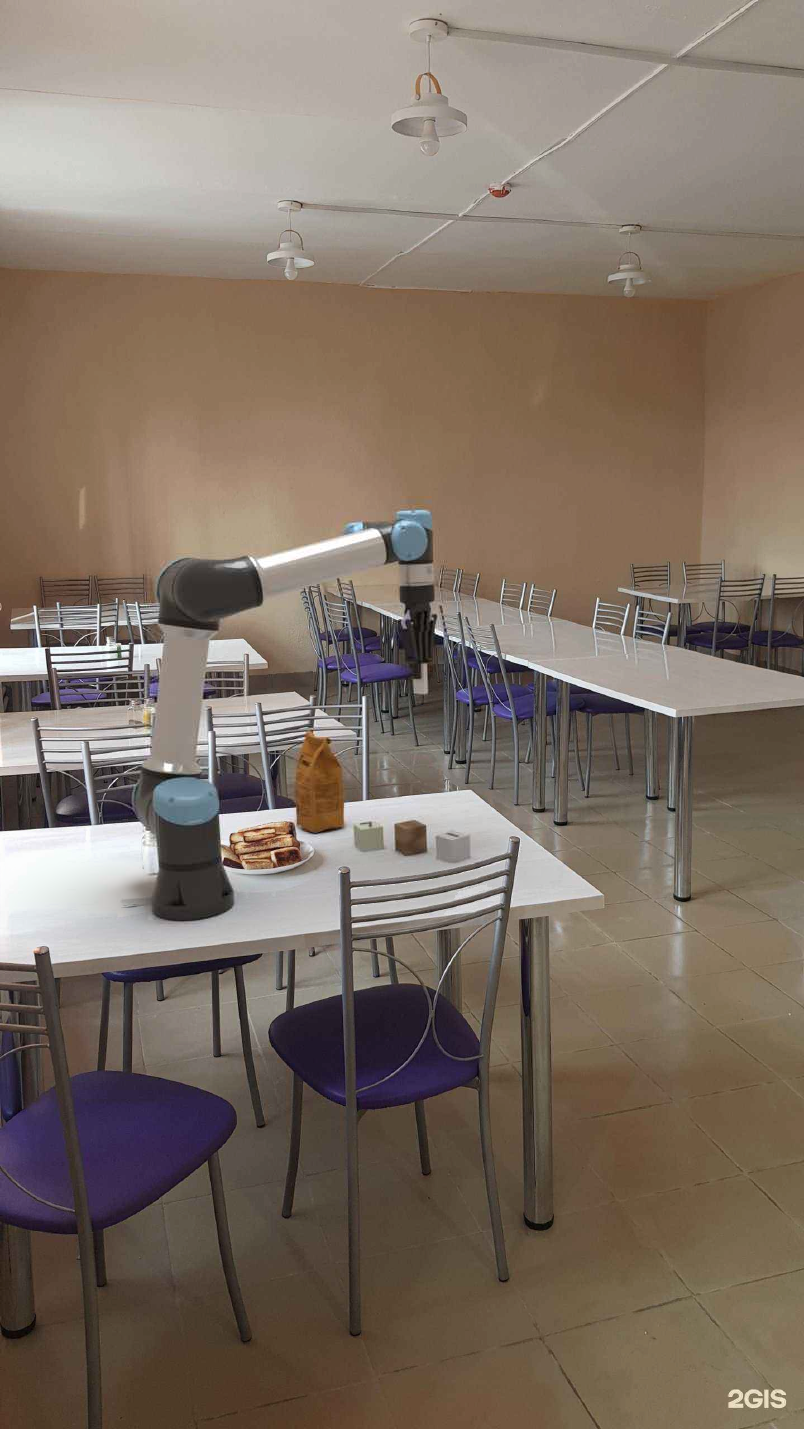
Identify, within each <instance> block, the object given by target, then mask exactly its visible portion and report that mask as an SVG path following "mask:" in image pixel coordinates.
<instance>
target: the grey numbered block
mask: <svg viewBox="0 0 804 1429" xmlns="http://www.w3.org/2000/svg"><path fill="white" fill-rule="evenodd" d="M470 836H471V835H470V834H467V833H465V832H460V831H458V830H454V829H453V830H450V831H446V832H443V833H439V834H436V835H435V850H436V851H435V854H436V859H439V860H442V861H445V862H448V863H450V864H455V863H458V862H461V861H464V860H468V859H470V858H471V837H470Z"/></svg>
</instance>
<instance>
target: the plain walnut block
mask: <svg viewBox="0 0 804 1429" xmlns="http://www.w3.org/2000/svg"><path fill="white" fill-rule="evenodd" d="M393 829H394V849H395V851H396V852H398V853H399V854H402V855H403V856H405V857H410V856H415V855H419V854H424V853H428V839H427V838H428V837H427V825H426V823H425V824H424V823H422V822H420V821H418V820H416V819H411V820H407V821H402V822H397V823H394V828H393Z"/></svg>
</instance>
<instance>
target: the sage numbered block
mask: <svg viewBox="0 0 804 1429" xmlns="http://www.w3.org/2000/svg"><path fill="white" fill-rule="evenodd" d="M353 839H354V840H353V841H354V842H353V843H354V844H353V845H354V846H355V847H356V848H357V849H358V850H360V851H361V853H363V852H369V851H377V850H382V849H384V848H385V847H384V846H385V844H384V826H383V825H382V824H380V823H379V822H377V821H376V820H371V821H365V822H364V821H363V822H355V823H353Z"/></svg>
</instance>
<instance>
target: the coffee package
mask: <svg viewBox="0 0 804 1429" xmlns="http://www.w3.org/2000/svg"><path fill="white" fill-rule="evenodd" d="M331 744H332V740H331V739H330V738H328V737H320V736H316V735H315V733H314V732H312V731H311V730H307V731H306V733H305V736H304V740H303V742H302V745H301V748H300V751H299V754H298V759H297V763H296V769H295V781H294V782H295V783H294V785H295V787H294V798H295V813H296V815H295V816H296V824H297V825H299V826H301V828H302V830H303V831H307V832H310V833H312V834H316V833H317V834H318V833H320V832H323V831H326V830H330V829H336V828H339V827H341V826H345V820H344V819H345V816H344V815H345V799H344V788H343V786H344V785H343V784H344V783H343V769H342V766H341V764H340V762H339V761H338V759H337V757H336V755H334V753H333V751H332V750H331V747H329V745H331Z"/></svg>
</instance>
